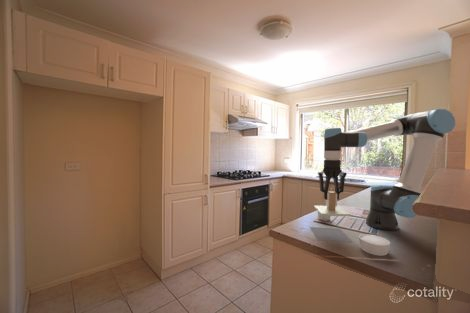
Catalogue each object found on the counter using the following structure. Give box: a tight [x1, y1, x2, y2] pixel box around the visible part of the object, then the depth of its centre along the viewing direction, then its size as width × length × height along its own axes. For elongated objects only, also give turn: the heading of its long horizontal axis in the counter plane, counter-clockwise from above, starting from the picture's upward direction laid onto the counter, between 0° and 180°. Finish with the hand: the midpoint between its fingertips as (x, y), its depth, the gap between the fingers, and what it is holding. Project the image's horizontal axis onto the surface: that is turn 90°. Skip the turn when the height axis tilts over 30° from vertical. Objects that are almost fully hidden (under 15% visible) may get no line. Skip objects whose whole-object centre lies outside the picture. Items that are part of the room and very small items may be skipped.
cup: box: [317, 204, 331, 222], centre depth 126 cm, size 11×8×8 cm
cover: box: [313, 190, 352, 217], centre depth 105 cm, size 13×13×10 cm
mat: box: [309, 226, 354, 243], centre depth 106 cm, size 16×16×1 cm
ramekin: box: [358, 233, 391, 257], centre depth 90 cm, size 11×11×5 cm
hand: (331, 205), depth 105 cm, fingers closed on cover, 3 cm apart
